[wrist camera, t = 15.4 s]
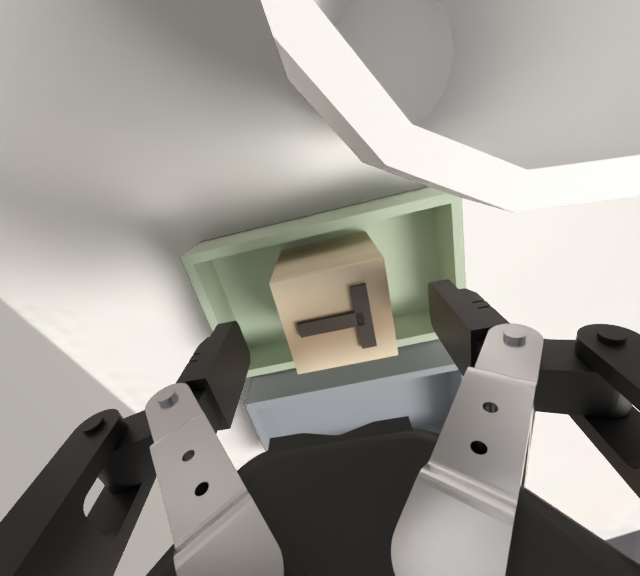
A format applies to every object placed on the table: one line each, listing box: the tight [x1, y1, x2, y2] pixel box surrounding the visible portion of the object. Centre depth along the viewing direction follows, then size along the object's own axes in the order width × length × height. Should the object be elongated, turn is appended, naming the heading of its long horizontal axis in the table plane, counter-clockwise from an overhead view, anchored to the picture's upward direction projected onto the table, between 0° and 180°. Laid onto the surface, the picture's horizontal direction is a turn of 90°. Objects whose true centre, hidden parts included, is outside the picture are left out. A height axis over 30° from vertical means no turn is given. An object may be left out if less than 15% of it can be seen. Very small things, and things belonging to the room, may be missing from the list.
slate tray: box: [245, 339, 463, 452], centre depth 21 cm, size 8×14×3 cm, turn 103°
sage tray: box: [180, 187, 466, 378], centre depth 18 cm, size 8×14×3 cm, turn 103°
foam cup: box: [261, 0, 640, 212], centre depth 9 cm, size 10×9×13 cm
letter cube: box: [269, 232, 398, 374], centre depth 16 cm, size 5×5×5 cm
